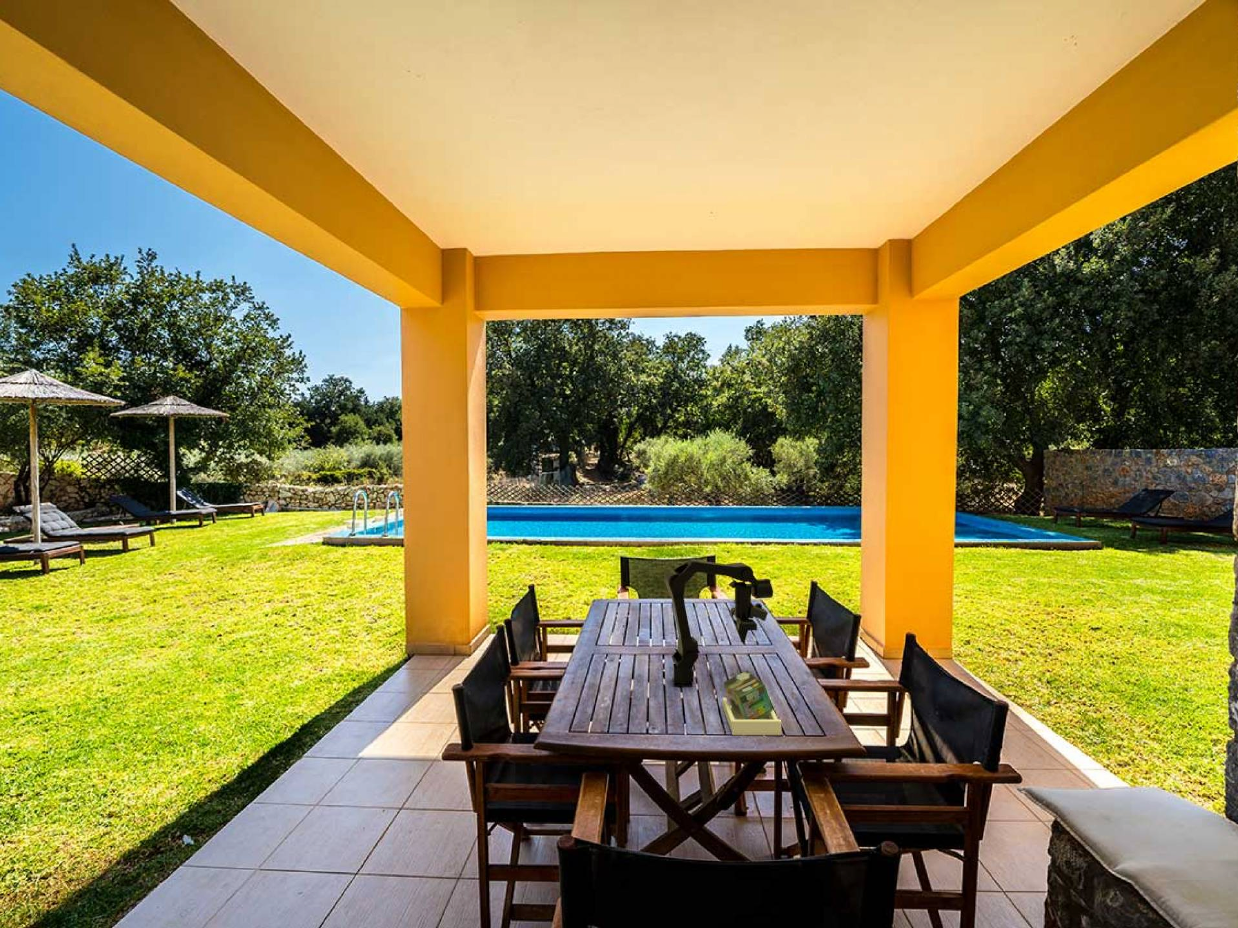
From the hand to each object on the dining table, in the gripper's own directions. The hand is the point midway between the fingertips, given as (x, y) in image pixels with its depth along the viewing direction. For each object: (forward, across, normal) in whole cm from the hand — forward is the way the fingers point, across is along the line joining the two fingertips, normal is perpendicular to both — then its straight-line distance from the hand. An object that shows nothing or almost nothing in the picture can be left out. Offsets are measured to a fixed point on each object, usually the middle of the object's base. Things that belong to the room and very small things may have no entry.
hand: (742, 642), depth 210 cm
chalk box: (+7, -23, +6) cm, 24 cm away
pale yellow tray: (+13, -31, +4) cm, 34 cm away
